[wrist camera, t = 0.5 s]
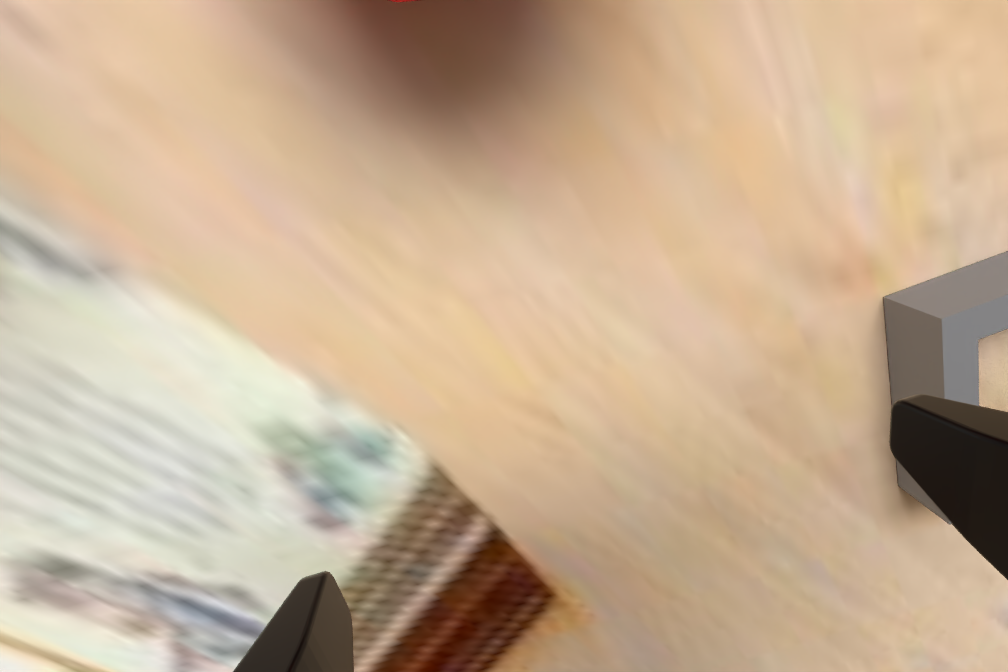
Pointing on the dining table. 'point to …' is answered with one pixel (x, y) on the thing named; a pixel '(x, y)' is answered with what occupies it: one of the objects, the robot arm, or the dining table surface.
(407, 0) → the tomato
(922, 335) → the block
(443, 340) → the dining table surface
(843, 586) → the dining table surface
